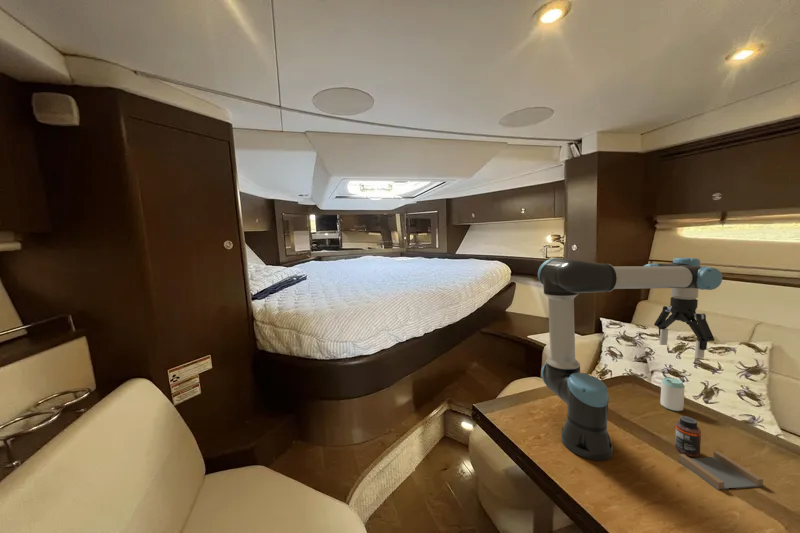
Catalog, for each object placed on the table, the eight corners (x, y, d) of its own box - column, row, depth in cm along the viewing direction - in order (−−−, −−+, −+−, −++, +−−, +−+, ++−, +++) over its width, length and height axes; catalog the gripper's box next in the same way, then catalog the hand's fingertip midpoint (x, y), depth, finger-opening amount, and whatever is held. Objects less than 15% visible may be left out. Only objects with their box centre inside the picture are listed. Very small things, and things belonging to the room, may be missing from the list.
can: (680, 414, 116) (682, 385, 115) (657, 406, 122) (659, 379, 121) (685, 408, 120) (687, 380, 119) (663, 400, 126) (664, 374, 125)
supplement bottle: (692, 447, 98) (694, 415, 97) (704, 459, 92) (706, 426, 92) (670, 443, 100) (672, 412, 99) (680, 455, 94) (683, 423, 93)
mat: (717, 489, 81) (718, 482, 81) (678, 460, 92) (678, 454, 92) (763, 486, 82) (763, 479, 82) (718, 457, 93) (719, 451, 93)
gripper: (732, 304, 99) (727, 363, 101) (661, 291, 124) (658, 339, 126) (712, 304, 99) (707, 364, 100) (645, 292, 123) (642, 340, 125)
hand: (680, 350), depth 113 cm, fingers open, 13 cm apart
